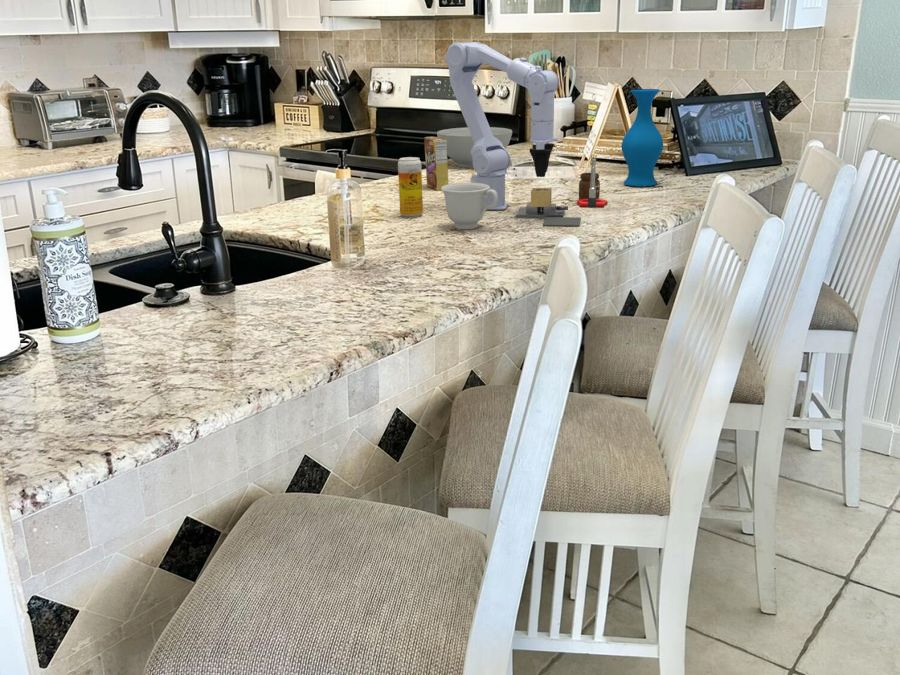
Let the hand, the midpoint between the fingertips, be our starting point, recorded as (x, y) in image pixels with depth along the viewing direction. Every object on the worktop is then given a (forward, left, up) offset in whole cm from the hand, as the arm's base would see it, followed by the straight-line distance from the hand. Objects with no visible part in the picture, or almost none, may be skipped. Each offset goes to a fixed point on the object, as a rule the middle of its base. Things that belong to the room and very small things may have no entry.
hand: (541, 174), depth 218 cm
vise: (0, 0, -10) cm, 10 cm away
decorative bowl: (-30, +83, -11) cm, 89 cm away
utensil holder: (+12, +22, -11) cm, 27 cm away
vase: (+27, +45, -11) cm, 53 cm away
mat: (+6, -10, -10) cm, 16 cm away
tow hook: (+13, +14, -11) cm, 22 cm away
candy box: (-35, +37, -11) cm, 52 cm away
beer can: (-34, -4, -11) cm, 36 cm away
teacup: (-16, -17, -11) cm, 26 cm away
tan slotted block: (0, 0, -8) cm, 8 cm away
